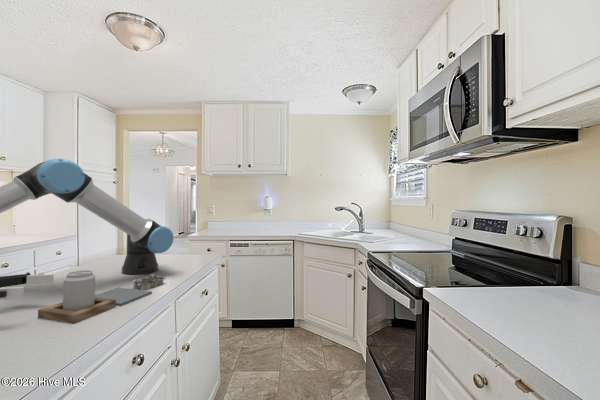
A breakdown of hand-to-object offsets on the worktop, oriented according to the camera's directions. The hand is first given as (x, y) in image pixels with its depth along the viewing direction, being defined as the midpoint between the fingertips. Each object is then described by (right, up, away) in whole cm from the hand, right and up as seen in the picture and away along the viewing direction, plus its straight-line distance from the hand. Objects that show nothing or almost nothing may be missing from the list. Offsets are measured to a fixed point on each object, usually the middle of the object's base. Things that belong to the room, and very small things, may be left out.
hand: (39, 285), depth 82 cm
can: (+9, -9, +3) cm, 13 cm away
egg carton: (+16, -10, +30) cm, 35 cm away
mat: (+13, -9, +16) cm, 23 cm away
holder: (+9, -9, +3) cm, 13 cm away
